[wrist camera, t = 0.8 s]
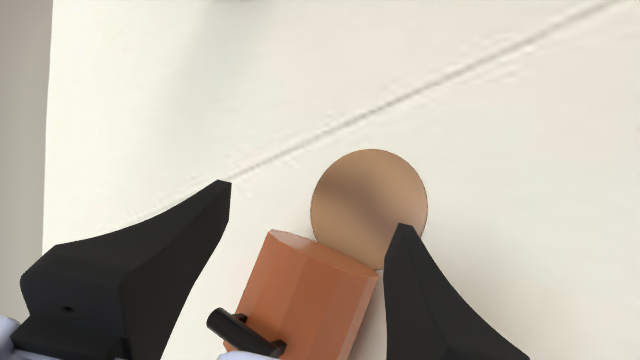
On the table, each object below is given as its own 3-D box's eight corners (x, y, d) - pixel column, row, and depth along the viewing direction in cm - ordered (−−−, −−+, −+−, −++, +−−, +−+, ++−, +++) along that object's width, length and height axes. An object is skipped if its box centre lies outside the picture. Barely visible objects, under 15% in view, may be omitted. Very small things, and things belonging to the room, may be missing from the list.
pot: (391, 276, 27) (352, 377, 27) (305, 235, 31) (270, 322, 31) (333, 277, 18) (273, 431, 18) (222, 219, 22) (171, 343, 22)
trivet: (399, 292, 27) (398, 293, 27) (295, 241, 32) (293, 241, 32) (446, 169, 27) (446, 168, 27) (336, 137, 32) (335, 136, 32)
